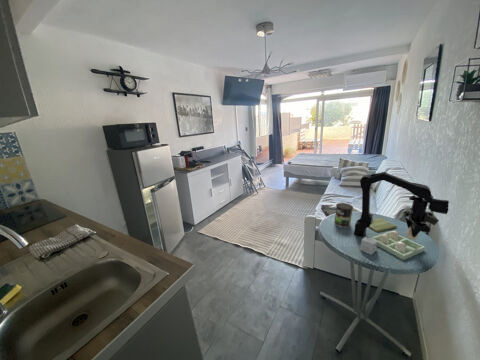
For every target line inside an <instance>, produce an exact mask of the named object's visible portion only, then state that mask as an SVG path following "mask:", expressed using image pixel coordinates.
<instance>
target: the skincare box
mask: <svg viewBox="0 0 480 360" xmlns="http://www.w3.org/2000/svg"><path fill="white" fill-rule="evenodd" d="M377 243H378V240H375V239H373V238H372V237H370V236H366V235H365V236H364V237H362V239H361V241H360V249H359V250H360V251H362V252H364V253H366V254H369V255H373V254H374V253H375V252H376V251H377V248H378V246H377Z"/></svg>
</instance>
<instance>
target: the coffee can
mask: <svg viewBox="0 0 480 360" xmlns="http://www.w3.org/2000/svg"><path fill="white" fill-rule="evenodd" d="M353 209H354V206H353V205H351V204H349V203H345V202H343V203H342V202H340V203H339V202H338V203H336V209H335V213H334V214H335V215H334V225H335V226H337V227H339V228H345V229H346V228H347V229H348V228H350V227H351V224H352V223H351V222H352V217H353V211H354V210H353Z"/></svg>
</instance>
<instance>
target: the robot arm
mask: <svg viewBox="0 0 480 360" xmlns="http://www.w3.org/2000/svg"><path fill="white" fill-rule="evenodd" d="M381 181H384V182H387V183H390V184H392V185H395V186H397V187H398V188H401V189H403V190H407V191H408V192H410V193H411V194H412V195H411V196H409V197H408V199H409V201H412V205H411V207H409V210H405V211H403V212H402V216H403V217H404V220H405V223H406V226H407V229H408V228H409V227H410V228H411V233H412V237H416V236H417V234H418V235H419V234H420V232H422V233H430V232H431V227H429V225H428V224H426V223H429V224H431V225H433V226H435V225H437V224H438V223H439V219H438V218H437V217H436V216H434V213H437V214H443V215H447V214H448V212H449V204H450V201H449V200H447V199H438V198H434V195H432V191H431V188H430V186H428V185H426V184H423V183H416V182H411V181H408V180H405V179H402V178H401V177H397V176H395V175H393V174H390V173H388V172H386V171H381V172H376V173H372V174H364V175H363V176H362V177H361V178H360V180H359V184H360V189H361V193H362V194H361V199H362V200H361V215H360V218H359V219H357V220H356V222H355V225H354V231H353V232H354V233H353V234H354V236H356V237H357V238H358V237H360V238H365V237H366V234H367V228H368V229H369V227H370V224H372V222H373V220H374V219H373V218H374V214H373V213H372V214H371V212H370V209H371V208H370V206H371V189H372V186H373V184H375V183H378V182H381ZM427 209H428V210H430V211H427ZM432 212H433V213H432ZM417 237H418V236H417Z"/></svg>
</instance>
